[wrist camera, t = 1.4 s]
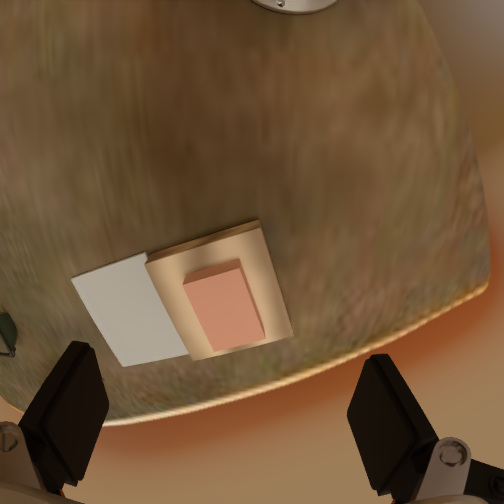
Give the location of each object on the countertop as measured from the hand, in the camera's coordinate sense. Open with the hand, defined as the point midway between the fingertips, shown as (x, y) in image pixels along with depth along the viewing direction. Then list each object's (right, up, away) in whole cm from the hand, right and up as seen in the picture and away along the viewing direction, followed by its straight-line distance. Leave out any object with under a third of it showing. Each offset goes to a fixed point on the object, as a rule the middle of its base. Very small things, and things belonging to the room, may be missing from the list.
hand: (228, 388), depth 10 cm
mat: (-15, -4, +28) cm, 32 cm away
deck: (-3, 0, +27) cm, 28 cm away
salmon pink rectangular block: (-2, -1, +24) cm, 24 cm away
